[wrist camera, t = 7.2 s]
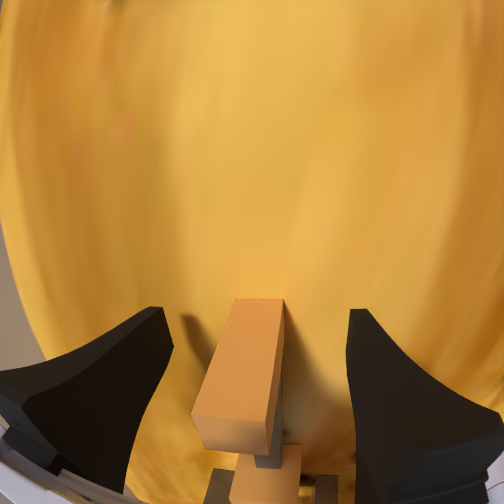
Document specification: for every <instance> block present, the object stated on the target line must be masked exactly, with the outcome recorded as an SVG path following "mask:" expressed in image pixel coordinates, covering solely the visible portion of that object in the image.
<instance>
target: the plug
mask: <svg viewBox="0 0 504 504" xmlns="http://www.w3.org/2000/svg"><path fill="white" fill-rule="evenodd" d="M284 339H285V333H284V309H283V299H235V300H234V303H233V305H232V308H231V310H230V313H229V316H228V318H227V321H226V323H225V326H224V329H223V331H222V334H221V337H220V339H219V342H218V344H217V347H216V350H215V352H214V355H213V357H212V360H211V363H210V365H209V368H208V371H207V373H206V376H205V378H204V381H203V384H202V386H201V389H200V391H199V394H198V397H197V399H196V402H195V404H194V407H193V410H192V412H191V415H192V418H193V420H194V423H195V425H196V428H197V430H198V433H199V435H200V437H201V440H202V442H203V444H204V447H205V449H210V450H217V451H224V452H233V453H239V456H238V461H237V465H236V469H235V474H234V478H233V482H232V486H231V490H230V494H229V500H230V502H231V504H298V494H299V484H300V473H301V461H302V447H303V445H292V444H283V415H282V390H281V364H282V356H283V347H284Z"/></svg>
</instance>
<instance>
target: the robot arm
mask: <svg viewBox="0 0 504 504" xmlns="http://www.w3.org/2000/svg"><path fill="white" fill-rule="evenodd" d="M173 348H174V345H173V341H172V338H171V335H170V331H169V328H168V325H167V321H166V317H165V314H164V310H163V307H151V306H150V307H148V308H146V309H144V310H142V311H140V312H139V313H137V314H135V315H134V316H132V317H131V318H129V319H127V320H126V321H124V322H123V323H121V324H120V325H118V326H116V327H115V328H113V329H112V330H110V331H108V332H107V333H105V334H103V335H102V336H100V337H98V338H97V339H95V340H93V341H91V342H90V343H88V344H86V345H84V346H82V347H80V348H78V349H76V350H74V351H71V352H69V353H67V354H64V355H62V356H59V357H56V358H54V359H51V360H48V361H45V362H42V363H39V364H35V365H31V366H27V367H22V368H17V369H11V370H4V371H0V414H1V416H2V417H3V418H4V419H5V421H6V422H7V423H8V424H9V425H10V427H9V428H8V430H6V429H5V428H4V427H3V426H1V425H0V492H2V493H3V494H4V495H5V496H6V497H7V498H8V499H10V500H11V501H12V502H13V503H14V504H92V503H93V504H148V503H145V502H142V501H139V500H136V499H133V498H130V497H127V496H125V495H123V489H124V483H125V477H126V472H127V467H128V463H129V459H130V455H131V451H132V447H133V444H134V441H135V437H136V434H137V431H138V428H139V425H140V422H141V420H142V417H143V414H144V412H145V410H146V408H147V406H148V404H149V402H150V400H151V398H152V396H153V394H154V392H155V390H156V388H157V386H158V384H159V382H160V380H161V378H162V376H163V374H164V372H165V370H166V368H167V366H168V363H169V360H170V357H171V354H172V351H173ZM346 367H347V378H348V383H349V389H350V395H351V401H352V407H353V413H354V420H355V428H356V488H355V503H354V504H504V423H503V421H502V418H501V416H500V415H499V413H498V412H495V411H493V410H490V409H488V408H486V407H483V406H481V405H479V404H476V403H474V402H472V401H470V400H468V399H467V398H465V397H463V396H461V395H459V394H457V393H456V392H454V391H452V390H451V389H449V388H448V387H446V386H445V385H443V384H442V383H440V382H439V381H437V380H436V379H434V378H433V377H432V376H430V375H429V374H428V373H427V372H425V371H424V370H423V369H422V368H421V367H419V366H418V365H417V364H416V363H415V362H414V361H412V360H411V359H410V358H409V357H408V356H407V355H406V354H405V353H404V352H403V351H402V350H401V349H400V348H399V347H398V345H397V344H396V343H395V342H394V341H393V340H392V339H391V338H390V336H389V335H388V334H387V333H386V332H385V331H384V329H383V328H382V327H381V326H380V325H379V323H378V322H377V321H376V320H375V318H374V317H373V316H372V314H371V313H370V312H369V311H368V310H367V309H350V317H349V327H348V336H347V344H346Z"/></svg>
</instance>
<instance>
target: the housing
mask: <svg viewBox="0 0 504 504" xmlns="http://www.w3.org/2000/svg"><path fill="white" fill-rule="evenodd" d="M234 474H235V472H234V471H228V470H221V469H214V468H213V472H212V475H211V479H210V482H209V486H208V489H207V492H206V496H205V499H204V503H203V504H231V502H230V500H229V494H230V490H231V486H232V482H233V478H234ZM311 504H338V475H327V476H316V479H315V484H314V488H313V493H312V502H311Z"/></svg>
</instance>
